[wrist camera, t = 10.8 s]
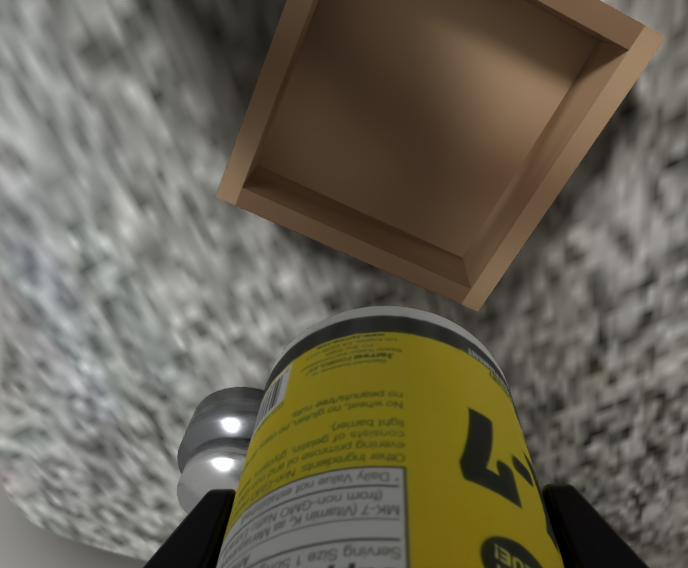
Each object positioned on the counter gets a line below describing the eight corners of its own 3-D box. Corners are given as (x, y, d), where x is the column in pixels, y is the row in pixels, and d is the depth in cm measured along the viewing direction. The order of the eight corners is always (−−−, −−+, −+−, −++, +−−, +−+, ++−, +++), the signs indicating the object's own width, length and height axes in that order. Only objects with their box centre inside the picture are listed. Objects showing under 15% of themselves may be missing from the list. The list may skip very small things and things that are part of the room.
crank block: (212, 370, 23) (198, 402, 21) (323, 413, 24) (318, 448, 22) (178, 449, 26) (163, 484, 24) (280, 486, 26) (273, 523, 25)
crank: (216, 512, 24) (193, 584, 21) (170, 446, 22) (139, 515, 20) (494, 451, 21) (511, 524, 19) (466, 371, 20) (481, 438, 17)
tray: (346, -124, 15) (338, -145, 12) (620, 26, 16) (666, 36, 14) (238, 166, 19) (215, 196, 16) (465, 268, 20) (478, 311, 18)
